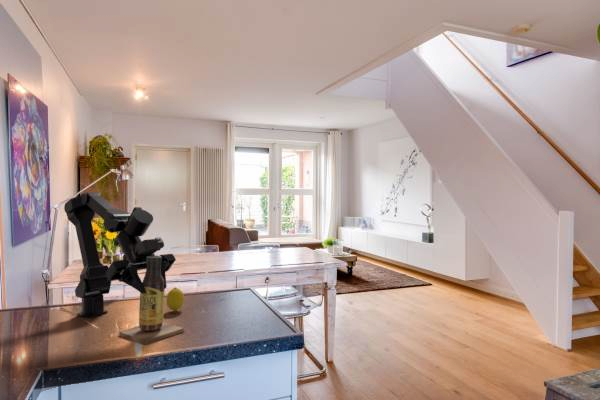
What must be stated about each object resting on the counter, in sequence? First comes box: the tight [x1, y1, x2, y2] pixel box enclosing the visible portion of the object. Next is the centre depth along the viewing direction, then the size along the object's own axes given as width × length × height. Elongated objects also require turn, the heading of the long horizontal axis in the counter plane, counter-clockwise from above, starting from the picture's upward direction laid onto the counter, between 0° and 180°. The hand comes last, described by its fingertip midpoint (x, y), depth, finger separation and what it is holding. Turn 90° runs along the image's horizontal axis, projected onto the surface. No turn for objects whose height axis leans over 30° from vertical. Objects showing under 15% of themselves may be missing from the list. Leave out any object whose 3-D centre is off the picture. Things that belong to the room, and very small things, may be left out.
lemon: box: [166, 287, 185, 312], centre depth 125 cm, size 6×6×8 cm
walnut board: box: [118, 321, 185, 346], centre depth 103 cm, size 12×12×1 cm
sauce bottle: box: [138, 255, 165, 331], centre depth 103 cm, size 7×6×20 cm
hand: (155, 290), depth 103 cm, fingers closed on sauce bottle, 6 cm apart
